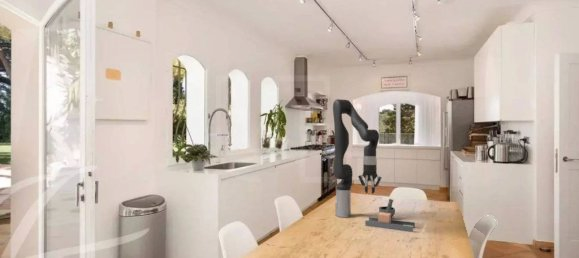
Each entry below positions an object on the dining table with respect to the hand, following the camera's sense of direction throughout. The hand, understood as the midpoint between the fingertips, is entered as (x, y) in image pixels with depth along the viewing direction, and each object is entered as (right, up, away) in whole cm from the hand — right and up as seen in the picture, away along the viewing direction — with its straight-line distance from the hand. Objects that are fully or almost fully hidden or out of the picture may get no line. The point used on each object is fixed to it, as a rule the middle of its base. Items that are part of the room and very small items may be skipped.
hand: (369, 193), depth 201 cm
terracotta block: (+8, -18, -4) cm, 20 cm away
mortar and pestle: (+14, -19, +14) cm, 28 cm away
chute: (+10, -19, -5) cm, 22 cm away
